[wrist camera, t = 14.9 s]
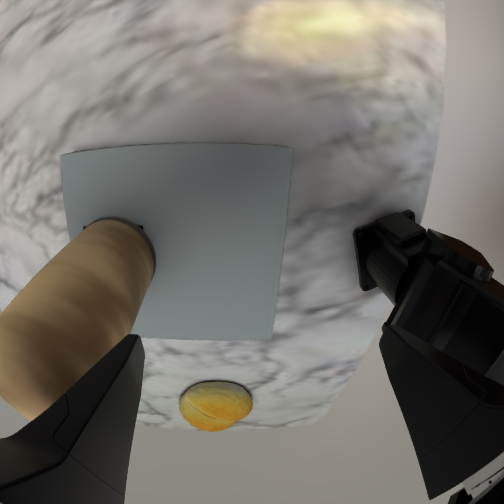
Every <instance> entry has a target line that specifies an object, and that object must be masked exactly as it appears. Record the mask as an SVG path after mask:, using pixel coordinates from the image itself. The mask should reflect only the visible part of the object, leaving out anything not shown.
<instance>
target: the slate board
mask: <svg viewBox="0 0 504 504" xmlns="http://www.w3.org/2000/svg"><path fill="white" fill-rule="evenodd" d="M293 149H294V148H290V147H285V146H273V145H258V144H238V143H164V144H145V145H131V146H119V147H109V148H100V149H92V150H84V151H77V152H72V153H67V154H63V155H60V160H61V176H62V187H63V197H64V205H65V212H66V219H67V226H68V231H69V237H70V242H71V241H72V240H73V239H74V238H75V237H76V236H78V235H79V234H80V233H81V232H82V231H83V230H84V229H85V228H86V227H87V226H88V225H89V224H91V223H92V222H94V221H95V220H97V219H100V218H103V217H108V216H116V217H121V218H124V219H127V220H129V221H131V222H133V223H135V224H136V225H143V231H144V232H145V233H146V235H147V236H148V237H149V239H150V241H151V243H152V245H153V247H154V251H155V255H156V269H155V273H154V276H153V279H152V281H151V283H150V285H149V287H148V289H147V292H146V294H145V297H144V299H143V302H142V304H141V307H140V310H139V312H138V315H137V317H136V320H135V323H134V326H133V328H132V331H131V334H138V335H139V336H140V337H143V338H159V339H179V340H267V339H272V332H273V325H274V318H275V311H276V303H277V296H278V288H279V280H280V272H281V264H282V256H283V248H284V239H285V230H286V221H287V212H288V202H289V192H290V182H291V171H292V160H293Z"/></svg>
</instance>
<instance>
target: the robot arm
mask: <svg viewBox="0 0 504 504" xmlns="http://www.w3.org/2000/svg"><path fill="white" fill-rule="evenodd" d="M409 215H410V217H409ZM359 233H361V235H360V236H358V234H359ZM353 236H354V243H355V249H356V256H357V263H358V271H359V279H360V287H361V289H362V290H363V291H368V290H370V289H373V288H375V287H379V288H380V289H381V290H382V292H383V293H384V294H385V295H386V296H387V297H388V299H389V300H390V301H391V302H392V303H393V305H394V306H395V307H394V308H393V310H392V312H391V314H390V316H389V318H388V319H387V322H385V323H384V324H383V326H382V331H383V334H382V337H381V339H380V342H379V347H380V350H381V354H382V357H383V360H384V364H385V367H386V370H387V374H388V377H389V380H390V382H391V385H392V387H393V390H394V393H395V395H396V398H397V400H398V403H399V406H400V408H401V411H402V414H403V417H404V419H405V422H406V425H407V428H408V431H409V433H410V436H411V439H412V442H413V445H414V449H415V451H416V455H417V458H418V460H419V461H418V462H419V465H420V468H421V472H422V475H423V478H424V482H425V486H426V490H427V494H428V497H429V499H430V500H431V499H433V498H435V497H437V496H439V495H441V494H442V493H445V492H446V491H448V490H450V489H451V488H453V487H455V486H456V485H458V484H460V483H461V482H462V483H463V485H464V487H463V488H461V489H460V490H459V491H457V492H456V493H454V494H453V495H451V497H450V499H449V502H448V504H504V285H502V284H501V283H499V282H498V281H497V280H495V279H494V278H492V275H493V272H494V270H493V268H492V267H491V266H490V264H489V263H488V262H487V260H486V259H485V257H484V256H483V255H482V254H481V253H480V252H479V251H477V250H476V249H474V248H472V247H471V246H469V245H468V244H466V243H464V242H463V241H461V240H458V239H455V238H453V237H450V236H448V235H445V234H442V233H440V232H437V231H434V230H431V229H428V231H427V233H426V229H424V228H423V227H422V226H420V225H418V224H417V223H415V214H414V212H412V211H410V210H407V211H405V212H402V213H395V214H392V215H389V216H386V217H384V218H381V219H378V220H376V221H375V222H374V223H372V224H369V225H366V226H363V227H360V228H358V229H356V230H355V231H354V233H353ZM365 285H367V286H366V287H365ZM144 360H145V352H144V348H143V344H142V341H141V337H140V336H139V335H138V334H128V335H126V336H125V337H124V338H123V339H122V340H121V341H120V342H119V343H117V344H116V345H115V346H114V347H113V348H112V349H111V350H110V351H109V352H108V353H107V354H105V355H104V356H103V357H102V358H101V359H100V360H99V361H98V362H97V363H96V364H95V365H94V366H92V367H91V368H90V369H89V370H88V371H87V372H86V373H85V374H84V375H83V376H82V377H81V378H80V379H79V380H78V381H76V382H75V383H74V384H73V385H72V386H71V387H70V388H69V389H68V390H67V391H66V393H64V394H63V395H62V396H61V397H59V398H58V399H57V400H56V401H55V402H54V403H53V404H52V405H51V406H50V407H49V408H47V409H46V410H45V411H44V412H42V413H41V414H40V415H39V416H37V417H36V418H35V419H33V420H32V421H31V422H30V423H28V424H27V425H26V426H25V427H23V428H22V429H20V430H19V431H18V432H16V433H15V434H13V435H11V436H9V437H6V438H1V439H0V504H124V499H125V489H126V480H127V473H128V466H129V458H130V452H131V446H132V440H133V434H134V428H135V423H136V418H137V412H138V407H139V403H140V397H141V389H142V379H143V369H144Z"/></svg>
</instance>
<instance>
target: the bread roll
mask: <svg viewBox="0 0 504 504" xmlns="http://www.w3.org/2000/svg"><path fill="white" fill-rule="evenodd" d="M179 406H180V407H179V409H180V412H181V414H182V416H183V417H184V419H185V420H186V421H187V422H189V423H190V424H191V425H192V426H194V427H196V428H198V429H201V430H204V431H210V432H215V431H222V430H225V429H227V428H229V427H231V426H232V425H233V424H234V423H235V422H236V420H240V419H243V418H244V417H246V416H247V415H248V414H249V413H250V412H251V410H252V407H253V403H252V399H251V397H250V395H249V394H248V393H247V392H246V391H245V390H244V389H243V387H241V386H239V385H237V384H233V383H228V382H204V383H199V384H197V385H194V386H192V387H191V388H190V389H188V391H187V392H186V393H185V394H184V395H183V396H182V397H181V398H180V402H179Z"/></svg>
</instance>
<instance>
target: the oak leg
mask: <svg viewBox="0 0 504 504" xmlns="http://www.w3.org/2000/svg"><path fill="white" fill-rule="evenodd" d="M155 269H156V255H155V251H154V247H153V245H152V243H151V241H150V239H149V237H148V236H147V235H146V233H145V232H144V231H143V230H142V229H141V228H140V227H139V226H137V225H136V224H135V223H133V222H131V221H129V220H127V219H124V218H121V217H116V216H108V217H103V218H100V219H97V220H95V221H94V222H92V223H91V224H89V225H88V226H87V227H86V228H85V229H84V230H83V231H82V232H81V233H80V234H79V235H78V236H76V237H75V238H74V239H73V240H72V241H71V242H70V243H69V244H67V245H66V246H65V247H64V248H63V249H62V250H61V251H60V252H59V253H58V254H57V255H56V256H55V257H54V258H52V259H51V260H50V261H49V262H48V263H47V264H46V265H45V266H44V267H43V268H42V269H41V270H40V271H39V272H38V273H37V274H36V275H35V276H34V277H33V278H32V280H31V281H30V282H29V283H28V284H27V285H26V286H25V287H24V288H23V289H22V290H21V291H20V292H19V294H18V295H17V296H16V297H15V298H14V299H13V300H12V301H11V303H10V304H9V305H8V306H7V307H6V308H5V310H4V311H3V312H2V313H1V315H0V396H1V397H2V398H3V399H4V400H5V401H6V402H7V403H8V404H10V406H12V407H13V408H14V409H15V410H16V411H18V412H19V413H20V414H21V415H23V416H24V417H26V418H27V419H29V420H30V421H32V420H33V419H35V418H36V417H37V416H39V415H40V414H41V413H42V412H44V411H45V410H46V409H47V408H49V407H50V406H51V405H52V404H53V403H54V402H55V401H56V400H57V399H58V398H59V397H61V396H62V395H63V394H64V393H66V391H67V390H68V389H69V388H70V387H71V386H72V385H73V384H74V383H75V382H76V381H78V380H79V379H80V378H81V377H82V376H83V375H84V374H85V373H86V372H87V371H88V370H89V369H90V368H91V367H92V366H94V365H95V364H96V363H97V362H98V361H99V360H100V359H101V358H102V357H103V356H104V355H105V354H107V353H108V352H109V351H110V350H111V349H112V348H113V347H114V346H115V345H116V344H117V343H119V342H120V341H121V340H122V339H123V338H124V337H125V336H126V335H128V334H131V331H132V328H133V326H134V323H135V320H136V317H137V315H138V312H139V310H140V307H141V304H142V302H143V299H144V297H145V294H146V292H147V289H148V287H149V285H150V283H151V281H152V279H153V276H154V273H155Z"/></svg>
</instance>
